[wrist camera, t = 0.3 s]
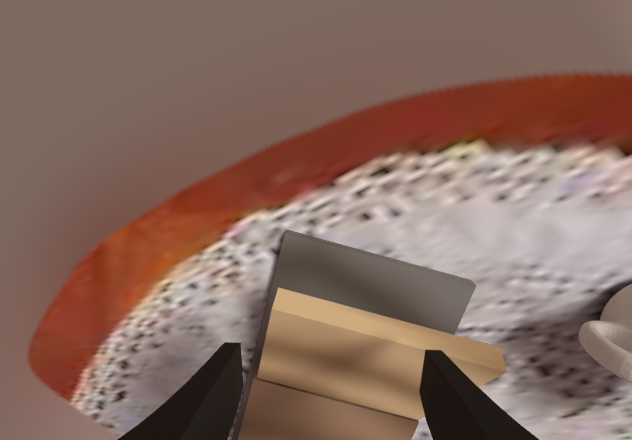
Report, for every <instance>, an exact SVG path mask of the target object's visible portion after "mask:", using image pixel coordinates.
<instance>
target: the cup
mask: <svg viewBox="0 0 632 440" xmlns="http://www.w3.org/2000/svg"><path fill="white" fill-rule="evenodd" d="M578 336H579V341H580V343H581V345H582V347H583V348H584V349H585V351H586V352H587V353H588V354H589V355H590V356H591V357H592V358H593V359H595V360H596V361H597V362H598V363H599V364H601V365H602V366H603V367H605V368H606V369H607V370H609V371H610V372H612V373H614V374H615V375H617V376H619V377H620V378H622V379H624V380H626V381H628V382H631V383H632V284H630V285H628V286H626V287H624V288H623V289H621V290H620V291H619V292H617V293H616V294H615V295H614V296H613V297H612V298H611V299H610V300H609V302H608V303H607V304H606V305H605V307H604V309H603V311H602V314H601V317H600V321H588V322H585V323H584V324H583V325H582V326H581V329H580V331H579V335H578Z"/></svg>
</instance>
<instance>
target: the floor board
mask: <svg viewBox="0 0 632 440" xmlns="http://www.w3.org/2000/svg"><path fill="white" fill-rule="evenodd" d="M278 287H279V288H282V289H286V290H290V291H293V292H297V293H301V294H304V295H308V296H312V297H316V298H319V299H323V300H327V301H330V302H334V303H338V304H341V305H345V306H349V307H353V308H356V309H360V310H364V311H367V312H371V313H375V314H378V315H382V316H386V317H390V318H393V319H397V320H401V321H404V322H408V323H412V324H416V325H419V326H423V327H427V328H430V329H434V330H438V331H441V332H445V333H449V334H453V335H454V334H455V332H456V330H457V327H458V325H459V323H460V321H461V318H462V316H463V314H464V312H465V309H466V307H467V305H468V303H469V300H470V298H471V296H472V294H473V291H474V289H475V287H476V285H475V284H474V283H473V282H472V281H471V280H468V279H465V278H461V277H457V276H454V275H450V274H446V273H443V272H439V271H436V270H432V269H428V268H425V267H421V266H417V265H414V264H410V263H406V262H403V261H399V260H395V259H392V258H388V257H384V256H381V255H377V254H374V253H370V252H366V251H363V250H359V249H355V248H352V247H348V246H344V245H341V244H337V243H333V242H330V241H326V240H323V239H319V238H315V237H312V236H308V235H304V234H301V233H297V232H293V231H290V230H286V232H285V235H284V239H283V243H282V247H281V251H280V254H279V258H278V262H277V266H276V270H275V274H274V278H273V282H272V285H271V289H270V293H269V297H268V301H267V305H266V309H265V313H264V316H263V320H262V324H261V328H260V332H259V336H258V340H257V344H256V347H255V351H254V355H253V359H252V363H251V367H250V371H249V375H248V379H247V382H246V386H245V390H244V394H243V398H242V402H241V406H240V410H239V413H238V417H237V421H236V425H235V429H234V433H233V437H232V440H411V439H412V437H413V434H414V432H415V430H416V428H417V425H418V423H419V422H418V420H416V419H412V418H408V417H405V416H401V415H397V414H393V413H389V412H386V411H382V410H378V409H374V408H370V407H367V406H363V405H359V404H355V403H351V402H348V401H344V400H340V399H336V398H332V397H329V396H325V395H321V394H317V393H313V392H310V391H306V390H302V389H298V388H294V387H291V386H287V385H283V384H279V383H275V382H272V381H268V380H264V379H260V378H257V375H258V370H259V366H260V361H261V357H262V352H263V347H264V343H265V338H266V333H267V329H268V324H269V320H270V315H271V310H272V307H273V303H274V300H275V297H276V294H277V290H278Z"/></svg>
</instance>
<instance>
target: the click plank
mask: <svg viewBox="0 0 632 440" xmlns="http://www.w3.org/2000/svg"><path fill="white" fill-rule="evenodd" d="M425 350H442V351H443V352H444V353H445V354H446V355H447V356H448V357H449V358H450V359H451V360H452V361H453V362H454V363H455V364H456V365H457V367H458V368H459V369H460V370H461V371H462V372H463V373H464V374H465V375H466V376H467V377H468V378H469V379H470V380H471V381H472V382H473V383H474V384H475V385H476V386H478V387H480V386H482V385H484V384H485V383H487V382H489V381H491V380H493V379H495V378H497V377H498V376H500V375H502V374H504V373H506V372H507V370H506V366H505V363H504V359H503V355H502V351H501V347H497V346H493V345H490V344H486V343H482V342H478V341H475V340H471V339H467V338H464V337H460V336H456V335H453V334H449V333H445V332H441V331H438V330H434V329H430V328H427V327H423V326H419V325H416V324H412V323H408V322H404V321H401V320H397V319H393V318H390V317H386V316H382V315H378V314H375V313H371V312H367V311H364V310H360V309H356V308H353V307H349V306H345V305H341V304H338V303H334V302H330V301H327V300H323V299H319V298H316V297H312V296H308V295H304V294H301V293H297V292H293V291H290V290H286V289H282V288H279V287H278V290H277V294H276V297H275V300H274V303H273V307H272V310H271V315H270V320H269V324H268V329H267V333H266V338H265V343H264V347H263V352H262V357H261V361H260V366H259V370H258V375H257V378H260V379H264V380H268V381H272V382H275V383H279V384H283V385H287V386H291V387H294V388H298V389H302V390H306V391H310V392H313V393H317V394H321V395H325V396H329V397H332V398H336V399H340V400H344V401H348V402H351V403H355V404H359V405H363V406H367V407H370V408H374V409H378V410H382V411H386V412H389V413H393V414H397V415H401V416H405V417H408V418H412V419H416V420H419V419H421V418H422V417H424V416H425V414H424V410H423V406H422V402H421V397H420V393H419V389H420V383H421V376H422V369H423V363H424V356H425Z"/></svg>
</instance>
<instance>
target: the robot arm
mask: <svg viewBox="0 0 632 440" xmlns="http://www.w3.org/2000/svg"><path fill="white" fill-rule="evenodd" d="M242 387H243V375H242V359H241V343H228V342H225V343H224V344H223V345H222V346H221V347H220V348H219V349H218V350H217V351H216V352H215V353H214V354H213V356H212V357H211V358H210V359H209V360H208V361H207V362H206V363H205V364H204V365H203V366H202V367H201V368H200V369H199V370H198V371H197V372H196V373H195V374H194V375H193V376H192V377H191V379H190V380H189V381H188V382H187V383H186V384H184V385H183V386H182V387H181V388H180V389H179V390H178V391H177V392H176V393H175V394H174V395H173V396H172V397H171V398H169V399H168V400H167V401H166V402H165V403H164V404H163V405H162V406H160V407H159V408H158V409H157V410H156V411H155V412H153V413H152V414H151V415H150V416H149V417H147V418H146V419H145V420H144V421H142V422H141V423H140V424H139V425H137V426H136V427H135V428H133V429H132V430H130V431H129V432H128V433H126V434H125V435H123V436H122V437H121V438H119V439H118V440H227V439H228V436H229V433H230V430H231V427H232V424H233V421H234V419H235V416H236V413H237V409H238V405H239V401H240V396H241V392H242ZM419 393H420V397H421V402H422V406H423V410H424V414H425V417H426V421H427V424H428V427H429V429H430V432H431V435H432V438H433V440H539V439H538V438H536V437H535V436H534V435H532V434H531V433H530V432H529V431H527V430H526V429H525V428H524V427H522V426H521V425H520V424H519V423H517V422H516V421H515V420H514V419H513V418H512V417H510V416H509V415H508V414H507V413H506V412H505V411H504V410H502V409H501V408H500V407H499V406H498V405H497V404H496V403H495V402H493V401H492V400H491V399H490V398H489V397H488V396H487V395H486V394H485V393H484V392H483V391H482V390H481V389H480V388H479V387H478V386H476V385H475V384H474V383H473V382H472V381H471V380H470V379H469V378H468V377H467V376H466V375H465V374H464V373H463V372H462V371H461V370H460V369H459V368H458V367H457V365H456V364H455V363H454V362H453V361H452V360H451V359H450V358H449V357H448V356H447V355H446V354H445V353H444V352H443V351H442V350H425V356H424V363H423V369H422V376H421V383H420V389H419Z"/></svg>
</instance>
